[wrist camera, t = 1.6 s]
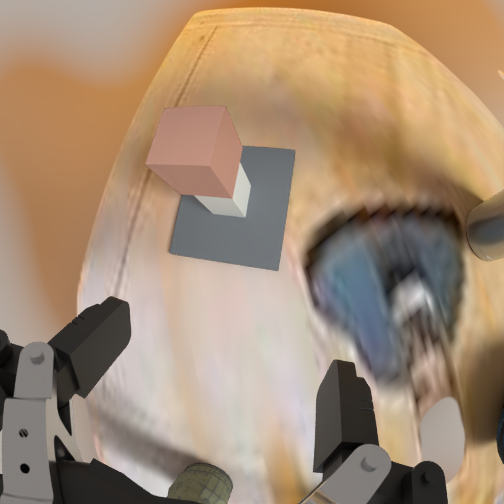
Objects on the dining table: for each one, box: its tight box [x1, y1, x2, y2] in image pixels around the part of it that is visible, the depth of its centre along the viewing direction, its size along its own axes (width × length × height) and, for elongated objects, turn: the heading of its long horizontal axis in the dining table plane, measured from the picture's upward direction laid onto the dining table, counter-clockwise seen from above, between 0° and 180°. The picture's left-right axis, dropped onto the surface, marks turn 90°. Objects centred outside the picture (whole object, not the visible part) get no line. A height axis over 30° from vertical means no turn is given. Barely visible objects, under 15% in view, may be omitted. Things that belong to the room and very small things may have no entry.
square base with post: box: [170, 146, 295, 271], centre depth 32 cm, size 18×16×18 cm
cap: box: [145, 106, 243, 199], centre depth 27 cm, size 6×6×8 cm
